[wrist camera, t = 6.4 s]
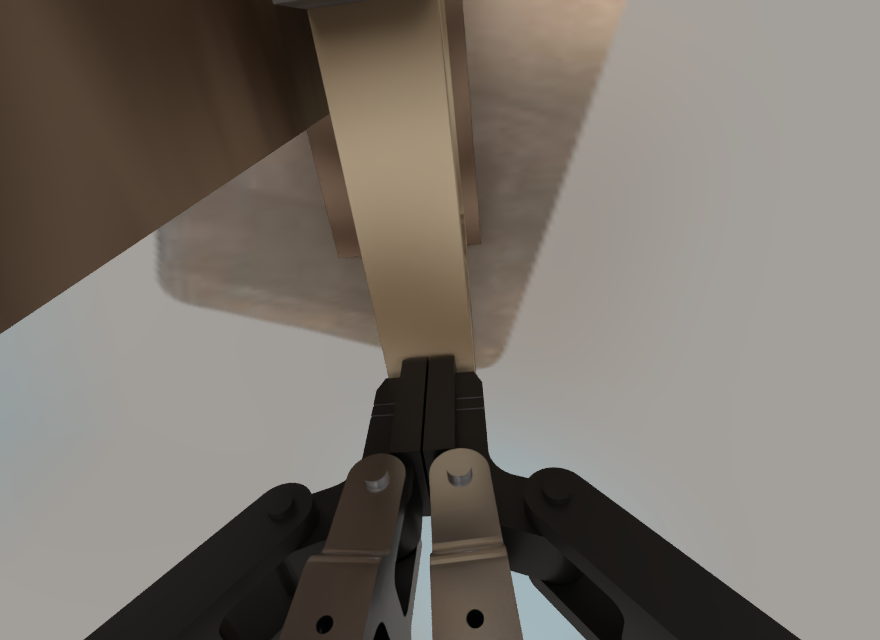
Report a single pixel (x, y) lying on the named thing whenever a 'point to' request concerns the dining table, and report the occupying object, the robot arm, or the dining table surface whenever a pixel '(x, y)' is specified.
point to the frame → (400, 168)
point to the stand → (158, 125)
